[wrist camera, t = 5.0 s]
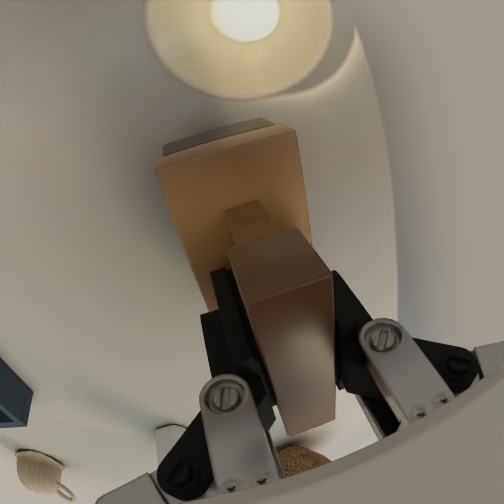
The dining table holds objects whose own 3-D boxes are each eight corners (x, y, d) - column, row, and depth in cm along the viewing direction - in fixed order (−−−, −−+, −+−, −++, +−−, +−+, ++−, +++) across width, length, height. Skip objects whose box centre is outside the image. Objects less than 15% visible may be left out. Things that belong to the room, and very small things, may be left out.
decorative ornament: (13, 443, 24) (8, 480, 19) (76, 462, 28) (76, 499, 23) (16, 454, 25) (12, 488, 21) (74, 471, 29) (74, 505, 24)
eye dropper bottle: (158, 447, 28) (173, 550, 18) (153, 423, 25) (169, 544, 15) (199, 445, 29) (221, 546, 19) (200, 421, 26) (226, 539, 16)
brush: (157, 146, 11) (146, 260, 5) (266, 115, 12) (391, 186, 5) (223, 324, 17) (260, 459, 11) (299, 299, 18) (364, 420, 11)
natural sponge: (334, 436, 36) (362, 497, 28) (283, 464, 38) (304, 522, 29) (298, 426, 31) (328, 502, 23) (240, 458, 33) (260, 528, 25)
